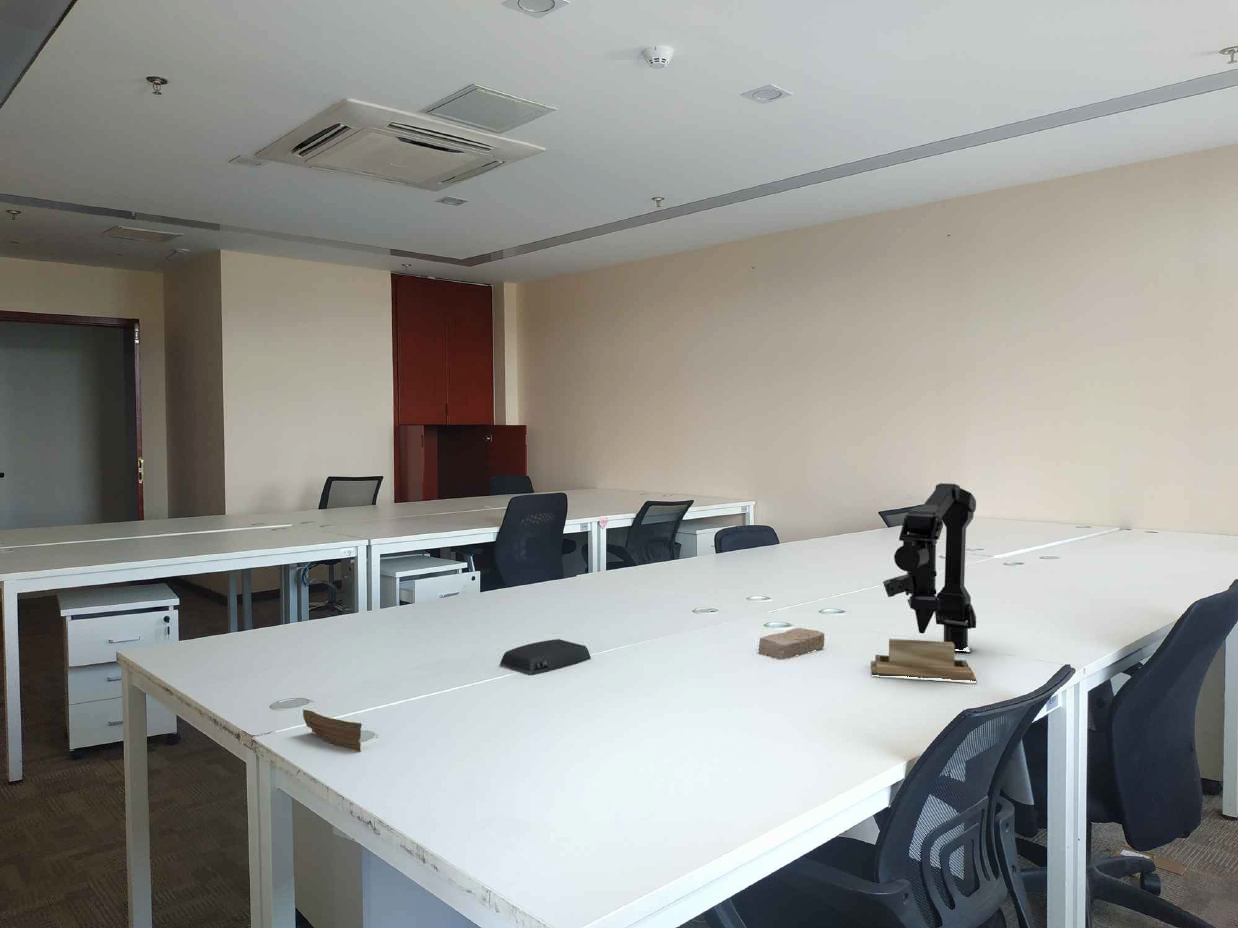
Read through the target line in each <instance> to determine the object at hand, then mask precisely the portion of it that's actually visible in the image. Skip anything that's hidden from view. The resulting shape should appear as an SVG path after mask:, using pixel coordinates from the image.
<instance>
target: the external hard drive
mask: <svg viewBox="0 0 1238 928" xmlns="http://www.w3.org/2000/svg"><path fill="white" fill-rule="evenodd" d="M591 657H592V656H591V653H590V652H589V648H588V647H587V646H586V645H583V644H579V643H575V642H572V641H568V640H567V641H566V640H563V639H560V638H555V639H549V640H543V641H542V640H541V641H537V642H532V643H528V644H525V645H520V646H517V647H514V648H512V649H509V650H507V651H505V652H504V653H503V655H502V657H501V660H500V663H499V667H502V668H505V667H506V669H508V668H510V669H509V670H512V671H515V670H516V672H518V671H519V673H523V674H525V675H528V676H534V675H539V674H544V673H547V672H553V671H556V670H559V669H560V670H561V669H564V668H567V667H571V666H574V665H577V664H581V663H583V662H586V661H589V660H591V659H592V658H591Z"/></svg>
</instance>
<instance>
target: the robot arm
mask: <svg viewBox="0 0 1238 928" xmlns="http://www.w3.org/2000/svg"><path fill="white" fill-rule="evenodd" d="M976 508H977V500H976V498H975V496H974V494H972V493H971V491H969V490H968V491H967V490H966V489H964V488H961V486H960V485H959V484H956V483H938V484H936V485H935V489H934V491H933V492H932V494H931V495H929V497H928V498H927V499H926V501H925V502H924V503H923V504H922V505H919V506H915V507H913V508H911V509H910V510H909V511H908V512H907V513H906V515H905V516H904V518H903V523H902V527H901V528H900V533H899V534H900V535H899V537H898V541H901V542H902V546H900V547H898V548H897V549H896V551H895V552H894V555H893V559H894V562H895V563H894V564H895V565H896V567H897V568H899V569H900V570H902V571H903V572H906V574H903V575H898V576H894V577H892V578H889V579H886V580H884V581H882V584H883V586H884V589H885V593H886V594H887V597H888V598H892V597H896V595H899V594H902V593H905V596H909V595H910V596H909V598H908V599H907V602H908V605H909V608H910V609H912V610H914V612H915V619H916V624H917V629H918V633H919V634H925V632H926V630H927V628H928V625H929V624H930V621H931V620H932V617H933V615H934V617H935V624H936V625H942V626H943V642H953V644H954V646H955V649H959V650H963V649H964V648H966V647H969V644H968V642H969V639H968V638H969V630H971V629H976V628H977V616H976V613H975V609H974V607H973V605H972V603H971V602H972V600H971V599H972V597H971V595H970V593H969V592H968V590H967V588H966V587H965V573H966V572H965V571H966V570H965V567H966V539H967V527H968V526H969V525H970V524H971V522H972V520H973V518H974V516H975V515H974V513H975V512H976V511H977V510H976ZM944 526H945V530H946V531H945V556H944V557H945V558H944V559H945V560H944V586H943V587H942V588H941V589H940V591H939V592H938V593H937V588H936V577H937V575H938V573H937V569H936V565H937V563H936V562H937V560H936V559H937V554H936V553H937V545H936V544H937V543H938V542H937V541H938V540H939V539H940V537H941V533H942V531H943V527H944Z"/></svg>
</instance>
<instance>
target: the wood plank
mask: <svg viewBox="0 0 1238 928" xmlns="http://www.w3.org/2000/svg"><path fill="white" fill-rule="evenodd" d="M302 717H303V719H304V722H305V726H306V727H308V729H311V733H313V734H315V736H316V737H318V738H320V739H321V740H324V741H326V742H328V743H330V744H332V745H335V746H338V747H343V748H344V749H349V750H352V751H355V752H359V753H361V752H362V751H361V750H362V748H361V745H362V744H361V742H360V740H361V739H362V738H361V736H362V726H363V724H362V723H361V722H353V721H352V722H351V721H345V720H342V719H337V718H331V717H327V716H324V715H321V714H318V713H316V712H314V711H312V710H307V709H302Z"/></svg>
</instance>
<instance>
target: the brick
mask: <svg viewBox="0 0 1238 928" xmlns="http://www.w3.org/2000/svg"><path fill="white" fill-rule="evenodd" d="M824 647H825V632H823V631H820V630H814V629H810V628H809V629H807V628H803V627H796V628H791V629H788V630H786V631H784V632H779V633H773V634H768V635H764V636H762V637H759V642H758V654H760V655H762V656H766V655H768V656H767V657H769V656H770V658H772V657H774V658H773V659H775V658H777V659H776V660H779V659H780V661H782V659H784V660H786V659H785V658H788V659H791V658H794V657H793V656H795V657H797V656H796V655H799V656H802V655H801V654H803V655H805V653H807V654H809V653H808V652H811V653H813V652H812V651H814V650H818V649H820V650H822V649H824ZM818 651H819V650H818ZM790 657H791V658H790Z"/></svg>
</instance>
